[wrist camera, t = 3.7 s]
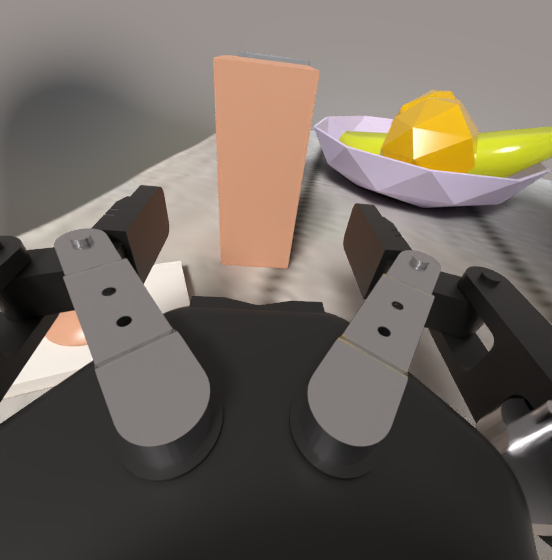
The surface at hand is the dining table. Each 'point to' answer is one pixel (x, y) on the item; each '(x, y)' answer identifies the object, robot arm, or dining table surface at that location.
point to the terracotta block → (260, 155)
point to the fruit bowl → (434, 154)
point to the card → (71, 341)
